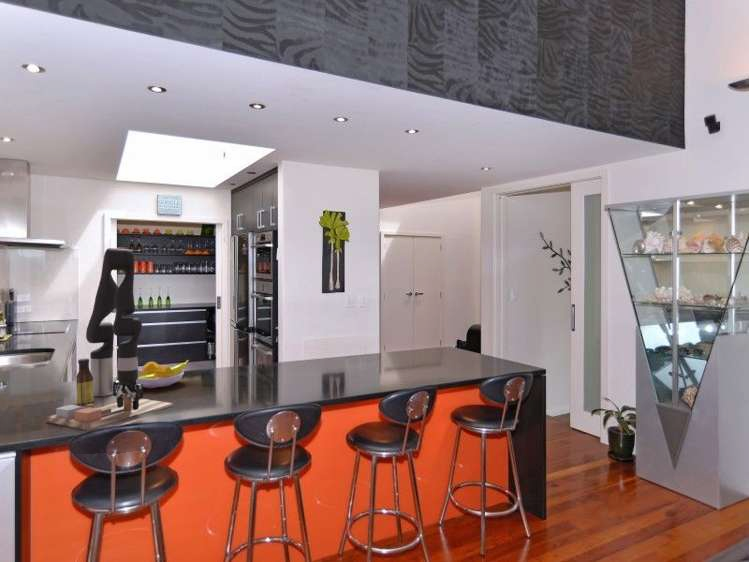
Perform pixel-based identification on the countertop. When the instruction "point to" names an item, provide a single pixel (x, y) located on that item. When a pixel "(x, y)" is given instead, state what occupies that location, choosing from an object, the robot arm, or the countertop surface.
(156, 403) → the wooden backboard
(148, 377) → the fruit bowl
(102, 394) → the robot arm
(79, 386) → the sauce bottle
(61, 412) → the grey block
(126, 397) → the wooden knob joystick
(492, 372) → the countertop surface
